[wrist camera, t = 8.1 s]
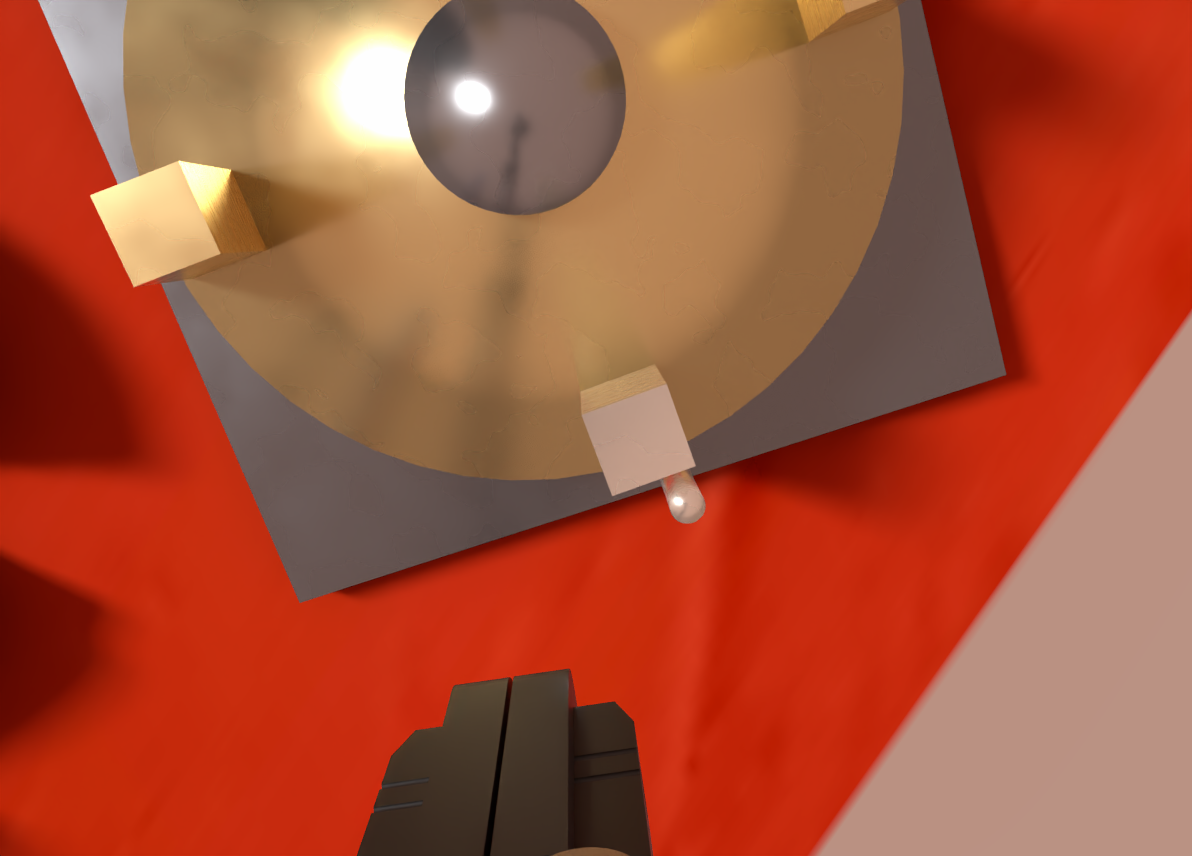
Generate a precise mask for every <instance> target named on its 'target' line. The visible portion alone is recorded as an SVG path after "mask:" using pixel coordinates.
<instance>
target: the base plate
mask: <svg viewBox="0 0 1192 856" xmlns="http://www.w3.org/2000/svg"><path fill="white" fill-rule="evenodd" d="M38 1H39V3H40V5H41V8H42V10H43V12H44V15H45V17H46V19H47V22H48V24H49V26H50V28H51V31H52V33H53V35H54V38H55V40H56V42H57V45H58V47H59V49H60V51H61V54H62V56H63V58H64V61H65V63H66V65H67V68H68V70H69V72H70V74H71V77H72V79H73V81H74V84H75V86H76V88H77V91H78V93H79V95H80V98H81V100H82V102H83V104H84V107H85V109H86V111H87V114H88V116H89V118H90V121H91V123H92V125H93V127H94V130H95V132H96V134H97V137H98V139H99V141H100V144H101V146H102V148H103V151H104V153H105V155H106V157H107V160H108V162H109V164H110V167H111V169H112V171H113V174H114V176H115V178H116V180H117V183H118V184H121V183H123V182H126V181H128V180H131V179H134V178H136V177H139V173H138V169H137V165H136V161H135V158H134V154H133V150H132V146H131V142H130V134H129V127H128V119H127V112H126V104H125V97H124V89H123V30H124V22H125V13H126V5H127V0H38ZM898 11H899V16H900V27H901V40H902V53H903V66H904V79H903V100H902V121H901V129H900V135H899V141H898V147H897V153H896V158H895V164H894V170H893V176H892V179H891V183H890V186H889V189H888V193H887V196H886V199H885V203H884V206H883V209H882V213H881V216H880V219H879V223H878V226H877V228H876V230H875V232H874V235H873V237H872V239H871V242H870V244H869V246H868V248H867V251H866V253H865V255H864V257H863V260H862V262H861V264H860V267H859V269H858V271H857V273H856V275H855V276H854V278H853V280H852V281H851V283H850V285H849V286H848V288H847V290H846V291H845V293H844V295H843V296H842V298H841V300H840V301H839V303H838V305H837V307H836V308H835V310H834V312H833V313H832V315H831V316H830V317H829V319H828V320H827V321H826V322H825V324H824V325H823V326H822V328H821V329H820V330H819V331H818V333H817V334H816V335H815V337H814V338H813V339H812V340H811V342H810V343H809V344H808V346H807V347H806V348H805V350H804V351H803V352H802V353H801V354H800V355H799V356H798V357H797V358H796V359H795V360H794V361H793V362H792V363H791V364H790V365H789V366H788V367H787V368H786V369H785V370H784V371H783V372H782V373H781V374H780V375H779V376H778V377H777V378H776V379H775V380H774V381H773V382H772V383H771V384H770V385H769V386H768V387H767V388H766V389H765V390H763V391H762V392H761V393H759V394H758V395H757V396H756V397H754V398H753V399H752V400H750V401H749V402H748V403H747V404H745V405H744V406H743V407H741V408H740V409H739V410H738V411H736V412H735V413H734V414H732V415H731V416H730V417H728V418H726V419H725V420H723V421H721V422H720V423H718V424H716V425H715V426H713V427H711V428H710V429H708V430H706V431H704V432H703V433H701V434H699V435H698V436H696V437H694V438H693V439H691V440H689V441H687V443H688V446H689V448H690V451H691V454H692V457H693V460H694V462H695V465H696V466H695V467H692V468H689V469H686V470H684V471H681V472H678V473H675V474H672V475H670V476H667V477H664V478H661V479H659V480H656V481H653V482H650V483H647V484H645V485H642V486H639V487H636V488H634V489H631V490H628V491H625V492H622V493H620V494H617V495H614V496H612V494H611V491H610V489H609V486H608V483H607V481H606V478H605V476H604V473H603V472H598V473H591V474H585V475H579V476H572V477H566V478H560V479H539V480H501V479H490V478H480V477H469V476H462V475H457V474H453V473H448V472H444V471H439V470H435V469H430V468H426V467H421V466H417V465H415V464H412V463H409V462H406V461H403V460H401V459H398V458H395V457H392V456H389V455H387V454H384V453H381V452H378V451H376V450H373V449H371V448H369V447H367V446H365V445H363V444H361V443H359V442H357V441H355V440H353V439H351V438H349V437H347V436H345V435H343V434H341V433H339V432H337V431H335V430H333V429H331V428H330V427H328V426H327V425H325V424H324V423H322V422H321V421H319V420H318V419H316V418H315V417H313V416H312V415H310V414H309V413H307V412H306V411H304V410H303V409H301V408H300V407H298V406H297V405H295V404H294V403H292V402H291V401H289V400H288V399H287V398H286V397H285V396H283V395H282V394H281V393H280V392H279V391H278V390H277V389H275V388H274V387H273V386H272V385H271V384H270V383H268V382H267V381H266V380H265V379H264V378H263V377H261V376H260V375H259V374H258V373H257V372H256V371H254V370H253V369H252V368H251V367H250V366H249V365H248V363H247V362H246V361H245V360H244V359H243V358H242V357H241V356H240V355H239V354H238V352H237V351H236V350H235V349H234V348H233V347H232V346H231V345H230V344H229V343H228V341H227V340H226V339H225V338H224V337H223V336H222V335H221V334H220V333H219V332H218V330H217V329H216V327H215V326H214V325H213V323H212V322H211V320H210V319H209V318H208V316H207V315H206V313H205V312H204V311H203V309H202V308H201V306H200V305H199V304H198V302H197V301H196V299H195V298H194V297H193V295H192V294H191V292H190V291H189V289H188V288H187V286H186V284H185V282H184V280H182V281H175V282H167V283H161V284H162V286H163V289H164V291H165V293H166V296H167V298H168V300H169V303H170V305H171V307H172V309H173V312H174V314H175V316H176V319H177V321H178V323H179V326H180V328H181V330H182V332H183V335H184V337H185V339H186V342H187V344H188V346H189V349H190V351H191V353H192V356H193V358H194V360H195V362H196V365H197V367H198V369H199V372H200V374H201V376H202V379H203V381H204V383H205V385H206V388H207V390H208V392H209V395H210V397H211V399H212V402H213V404H214V406H215V409H216V411H217V413H218V415H219V418H220V420H221V422H222V425H223V427H224V429H225V432H226V434H227V436H228V438H229V441H230V443H231V445H232V448H233V450H234V452H235V455H236V457H237V459H238V461H239V464H240V466H241V468H242V471H243V473H244V475H245V478H246V480H247V482H248V485H249V487H250V489H251V491H252V494H253V496H254V498H255V501H256V503H257V505H258V508H259V510H260V512H261V514H262V517H263V519H264V521H265V524H266V526H267V528H268V531H269V533H270V535H271V537H272V540H273V542H274V544H275V547H276V549H277V551H278V554H279V556H280V558H281V561H282V563H283V565H284V567H285V570H286V572H287V574H288V577H289V579H290V581H291V584H292V586H293V588H294V590H295V593H296V595H297V597H298V600H299V602H300V603H301V602H304V601H307V600H310V599H313V598H316V597H319V596H322V595H325V594H328V593H332V592H335V591H338V590H341V589H344V588H347V587H350V586H353V585H356V584H359V583H363V582H366V581H369V580H372V579H375V578H378V577H381V576H384V575H387V574H390V573H394V572H397V571H400V570H403V569H406V568H409V567H412V566H415V565H418V564H421V563H425V562H428V561H431V560H434V559H437V558H440V557H443V556H446V555H449V554H452V553H456V552H459V551H462V550H465V549H468V548H471V547H474V546H477V545H480V544H483V543H487V542H490V541H493V540H496V539H499V538H502V537H505V536H508V535H511V534H514V533H518V532H521V531H524V530H527V529H530V528H533V527H536V526H539V525H542V524H545V523H549V522H552V521H555V520H558V519H561V518H564V517H567V516H570V515H573V514H577V513H580V512H583V511H586V510H589V509H592V508H595V507H598V506H601V505H604V504H608V503H611V502H614V501H617V500H620V499H623V498H626V497H629V496H632V495H635V494H639V493H642V492H645V491H648V490H651V489H654V488H657V487H660V486H662V488H663V491H664V494H665V496H666V499H667V502H668V505H669V508H670V511H671V514H672V515H673V517H674V518H675V519H676V520H677V521H679V522H681V523H693V522H695V521H697V520H699V519H700V518H701V517H702V515H703V514H704V511H705V501H704V498H703V496H702V494H701V492H700V490H699V488H698V486H697V484H696V482H695V480H694V478H693V476H694V475H697V474H701V473H704V472H707V471H710V470H713V469H716V468H719V467H722V466H725V465H728V464H732V463H735V462H738V461H741V460H744V459H747V458H750V457H753V456H756V455H759V454H763V453H766V452H769V451H772V450H775V449H778V448H781V447H784V446H787V445H790V444H794V443H797V442H800V441H803V440H806V439H809V438H812V437H815V436H818V435H821V434H825V433H828V432H831V431H834V430H837V429H840V428H843V427H846V426H849V425H852V424H856V423H859V422H862V421H865V420H868V419H871V418H874V417H877V416H880V415H883V414H887V413H890V412H893V411H896V410H899V409H902V408H905V407H908V406H911V405H914V404H918V403H921V402H924V401H927V400H930V399H933V398H936V397H939V396H942V395H945V394H949V393H952V392H955V391H958V390H961V389H964V388H967V387H970V386H973V385H976V384H980V383H983V382H986V381H989V380H992V379H995V378H998V377H1001V376H1004V375H1006V371H1005V367H1004V362H1003V358H1002V354H1001V349H1000V345H999V341H998V336H997V332H996V327H995V323H994V319H993V314H992V310H991V305H990V301H989V297H988V292H987V288H986V284H985V279H984V275H983V270H982V266H981V262H980V257H979V253H978V249H977V244H976V240H975V235H974V231H973V227H972V222H971V218H970V213H969V209H968V205H967V200H966V196H965V192H964V187H963V183H962V178H961V174H960V170H959V165H958V161H957V157H956V152H955V148H954V143H953V139H952V135H951V130H950V126H949V121H948V117H947V113H946V108H945V104H944V100H943V95H942V91H941V86H940V82H939V78H938V73H937V69H936V65H935V60H934V56H933V51H932V47H931V43H930V38H929V34H928V29H927V25H926V21H925V16H924V12H923V8H922V3H921V0H906V1H905V2H903V3H902V4H900V5H899V6H898Z"/></svg>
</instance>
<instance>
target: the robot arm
mask: <svg viewBox="0 0 1192 856" xmlns="http://www.w3.org/2000/svg"><path fill="white" fill-rule="evenodd" d="M357 856H653V851H652V844H651V836H650V828H649V822H648V815H647V808H646V801H645V794H644V787H643V781H642V774H641V767H640V760H639V753H638V747H637V740H636V733H635V726H634V721H633V720H632V719H631V718H630V717H629V716H628V715H627V714H626V713H625V712H624V711H623V710H622V709H621V708H620V707H619V706H618V705H617V704H616V703H615V702H608V703H601V704H594V705H587V706H580V707H577V703H576V696H575V690H574V684H573V679H572V674H571V671H570V669H563V670H556V671H549V672H542V673H536V674H529V675H522V676H515V677H514V678H513V681H512V679H511V678H510V677H509V678H502V679H495V680H488V681H481V682H474V683H467V684H460V685H455V686H454V687H453V689H452V692H451V696H450V700H449V704H448V707H447V711H446V715H445V719H444V723H443V727H436V728H429V729H422V730H416V731H415V732H414V733H413V734H412V735H411V736H410V737H409V738H408V739H407V740H406V741H405V742H404V743H403V744H402V745H401V746H400V748H399V749H398V750H397V751H396V752H395V753H394V754H393V755H392V756H391V758H390V761H389V764H388V767H387V770H386V773H385V776H384V779H383V781H382V789H381V790H379V793H378V796H377V799H376V802H375V805H374V813H371V816H370V819H369V822H368V825H367V828H366V831H365V834H364V837H363V839H362V842H361V845H360V848H359V851H358V854H357Z"/></svg>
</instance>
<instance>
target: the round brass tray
mask: <svg viewBox="0 0 1192 856" xmlns="http://www.w3.org/2000/svg"><path fill="white" fill-rule="evenodd" d="M905 1H906V0H127V5H126V13H125V22H124V30H123V89H124V97H125V104H126V112H127V119H128V127H129V134H130V142H131V146H132V150H133V154H134V158H135V161H136V165H137V169H138V173H139V177H136V178H134V179H131V180H128V181H126V182H123V183H121V184H118V185H116V186H113V187H111V188H108V189H105V190H103V191H100V192H98V193H95V194H93V195H90V196H91V198H92V200H93V203H94V205H95V207H96V209H97V211H98V213H99V215H100V217H101V219H102V221H103V223H104V225H105V228H106V230H107V232H108V234H109V236H110V238H111V240H112V242H113V244H114V246H115V248H116V250H117V253H118V255H119V257H120V259H121V261H122V263H123V265H124V267H125V269H126V271H127V273H128V275H129V278H130V280H131V282H132V284H133V286H134V287H138V286H145V285H153V284H160V283H167V282H175V281H182V280H184V282H185V284H186V286H187V288H188V289H189V291H190V292H191V294H192V295H193V297H194V298H195V299H196V301H197V302H198V304H199V305H200V306H201V308H202V309H203V311H204V312H205V313H206V315H207V316H208V318H209V319H210V320H211V322H212V323H213V325H214V326H215V327H216V329H217V330H218V332H219V333H220V334H221V335H222V336H223V337H224V338H225V339H226V340H227V341H228V343H229V344H230V345H231V346H232V347H233V348H234V349H235V350H236V351H237V352H238V354H239V355H240V356H241V357H242V358H243V359H244V360H245V361H246V362H247V363H248V365H249V366H250V367H251V368H252V369H253V370H254V371H256V372H257V373H258V374H259V375H260V376H261V377H263V378H264V379H265V380H266V381H267V382H268V383H270V384H271V385H272V386H273V387H274V388H275V389H277V390H278V391H279V392H280V393H281V394H282V395H283V396H285V397H286V398H287V399H288V400H289V401H291V402H292V403H294V404H295V405H297V406H298V407H300V408H301V409H303V410H304V411H306V412H307V413H309V414H310V415H312V416H313V417H315V418H316V419H318V420H319V421H321V422H322V423H324V424H325V425H327V426H328V427H330V428H331V429H333V430H335V431H337V432H339V433H341V434H343V435H345V436H347V437H349V438H351V439H353V440H355V441H357V442H359V443H361V444H363V445H365V446H367V447H369V448H371V449H373V450H376V451H378V452H381V453H384V454H387V455H389V456H392V457H395V458H398V459H401V460H403V461H406V462H409V463H412V464H415V465H417V466H421V467H426V468H430V469H435V470H439V471H444V472H448V473H453V474H457V475H462V476H469V477H480V478H490V479H501V480H539V479H560V478H566V477H572V476H579V475H585V474H591V473H598V472H603V473H604V476H605V478H606V481H607V483H608V486H609V489H610V491H611V494H612V496H614V495H617V494H620V493H622V492H625V491H628V490H631V489H634V488H636V487H639V486H642V485H645V484H647V483H650V482H653V481H656V480H659V479H661V478H664V477H667V476H670V475H672V474H675V473H678V472H681V471H684V470H686V469H689V468H692V467H695V466H696V465H695V462H694V460H693V457H692V454H691V451H690V448H689V446H688V443H687V441H689V440H691V439H693V438H694V437H696V436H698V435H699V434H701V433H703V432H704V431H706V430H708V429H710V428H711V427H713V426H715V425H716V424H718V423H720V422H721V421H723V420H725V419H726V418H728V417H730V416H731V415H732V414H734V413H735V412H736V411H738V410H739V409H740V408H741V407H743V406H744V405H745V404H747V403H748V402H749V401H750V400H752V399H753V398H754V397H756V396H757V395H758V394H759V393H761V392H762V391H763V390H765V389H766V388H767V387H768V386H769V385H770V384H771V383H772V382H773V381H774V380H775V379H776V378H777V377H778V376H779V375H780V374H781V373H782V372H783V371H784V370H785V369H786V368H787V367H788V366H789V365H790V364H791V363H792V362H793V361H794V360H795V359H796V358H797V357H798V356H799V355H800V354H801V353H802V352H803V351H804V350H805V348H806V347H807V346H808V344H809V343H810V342H811V340H812V339H813V338H814V337H815V335H816V334H817V333H818V331H819V330H820V329H821V328H822V326H823V325H824V324H825V322H826V321H827V320H828V319H829V317H830V316H831V315H832V313H833V312H834V310H835V308H836V307H837V305H838V303H839V301H840V300H841V298H842V296H843V295H844V293H845V291H846V290H847V288H848V286H849V285H850V283H851V281H852V280H853V278H854V276H855V275H856V273H857V271H858V269H859V267H860V264H861V262H862V260H863V257H864V255H865V253H866V251H867V248H868V246H869V244H870V242H871V239H872V237H873V235H874V232H875V230H876V228H877V226H878V223H879V219H880V216H881V213H882V209H883V206H884V203H885V199H886V196H887V193H888V189H889V186H890V183H891V179H892V176H893V170H894V164H895V158H896V153H897V147H898V141H899V135H900V129H901V121H902V100H903V79H904V66H903V53H902V40H901V27H900V16H899V11H898V6H899V5H900V4H902V3H903V2H905Z"/></svg>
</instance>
